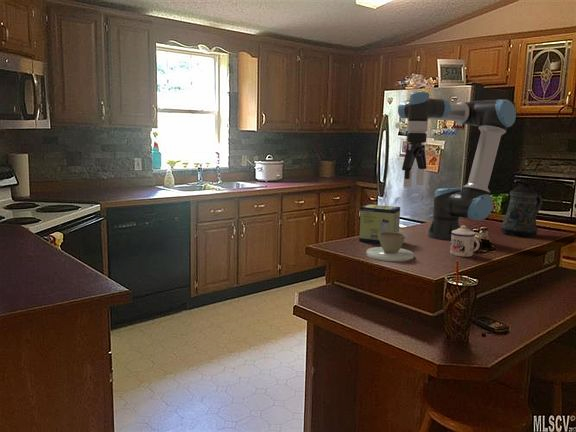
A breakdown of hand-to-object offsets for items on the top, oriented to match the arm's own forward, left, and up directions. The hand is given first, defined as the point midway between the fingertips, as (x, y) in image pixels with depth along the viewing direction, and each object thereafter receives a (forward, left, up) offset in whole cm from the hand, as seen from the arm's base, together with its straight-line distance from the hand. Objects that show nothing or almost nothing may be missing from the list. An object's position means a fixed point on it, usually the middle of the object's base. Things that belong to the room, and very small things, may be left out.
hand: (413, 186), depth 201 cm
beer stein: (-73, +29, -27) cm, 83 cm away
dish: (+13, -3, -27) cm, 30 cm away
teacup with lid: (-8, +20, -27) cm, 34 cm away
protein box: (-10, -18, -27) cm, 34 cm away
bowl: (+13, -3, -25) cm, 28 cm away
